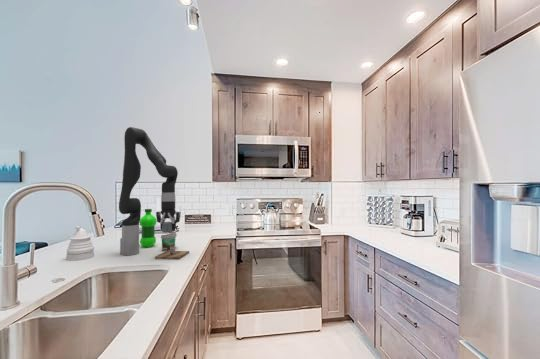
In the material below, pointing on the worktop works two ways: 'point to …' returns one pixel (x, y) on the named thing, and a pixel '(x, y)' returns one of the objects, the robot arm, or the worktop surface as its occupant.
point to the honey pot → (80, 246)
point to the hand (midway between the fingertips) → (168, 230)
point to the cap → (167, 227)
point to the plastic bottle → (148, 229)
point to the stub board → (172, 254)
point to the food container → (168, 241)
